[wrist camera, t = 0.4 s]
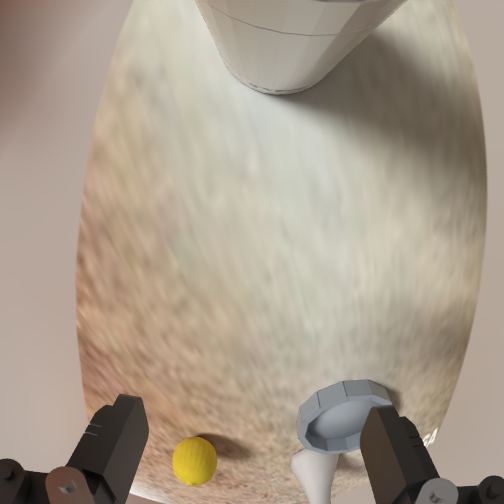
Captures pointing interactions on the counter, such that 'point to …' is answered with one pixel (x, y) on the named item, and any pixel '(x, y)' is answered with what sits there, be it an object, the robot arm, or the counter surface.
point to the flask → (315, 474)
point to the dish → (338, 416)
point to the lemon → (194, 461)
